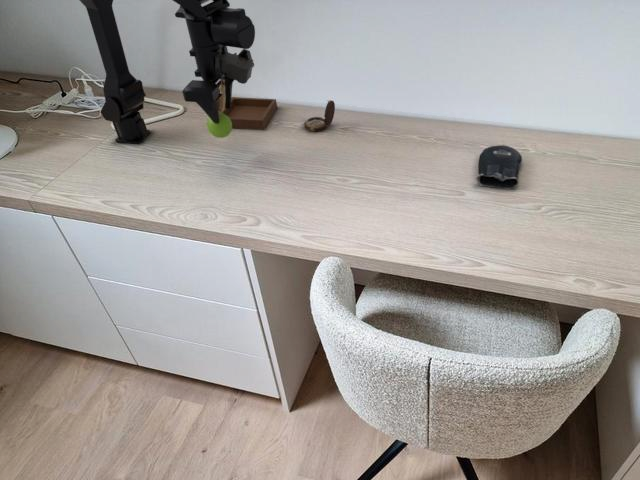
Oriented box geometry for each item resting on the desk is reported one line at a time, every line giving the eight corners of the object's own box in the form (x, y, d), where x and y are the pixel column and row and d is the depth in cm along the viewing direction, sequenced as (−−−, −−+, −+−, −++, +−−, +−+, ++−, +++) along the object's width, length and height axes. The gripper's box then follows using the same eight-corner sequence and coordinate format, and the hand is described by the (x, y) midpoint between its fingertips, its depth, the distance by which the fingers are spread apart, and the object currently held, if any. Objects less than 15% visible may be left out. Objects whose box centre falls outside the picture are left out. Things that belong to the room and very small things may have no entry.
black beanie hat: (519, 196, 106) (522, 153, 115) (520, 176, 102) (523, 132, 111) (475, 195, 109) (481, 153, 118) (475, 175, 105) (481, 133, 114)
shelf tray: (217, 127, 129) (215, 117, 127) (233, 106, 138) (232, 97, 136) (264, 129, 127) (262, 120, 125) (277, 108, 136) (276, 99, 134)
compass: (308, 119, 131) (306, 93, 126) (337, 123, 129) (335, 96, 124) (298, 133, 125) (294, 106, 120) (327, 137, 124) (325, 110, 119)
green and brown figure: (241, 131, 113) (233, 81, 105) (224, 145, 109) (214, 93, 101) (221, 125, 115) (212, 75, 106) (204, 138, 111) (193, 87, 102)
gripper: (228, 61, 91) (244, 138, 102) (258, 28, 104) (269, 99, 115) (171, 58, 92) (192, 135, 103) (208, 26, 105) (224, 97, 116)
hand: (222, 115), depth 109 cm, fingers closed on green and brown figure, 7 cm apart
